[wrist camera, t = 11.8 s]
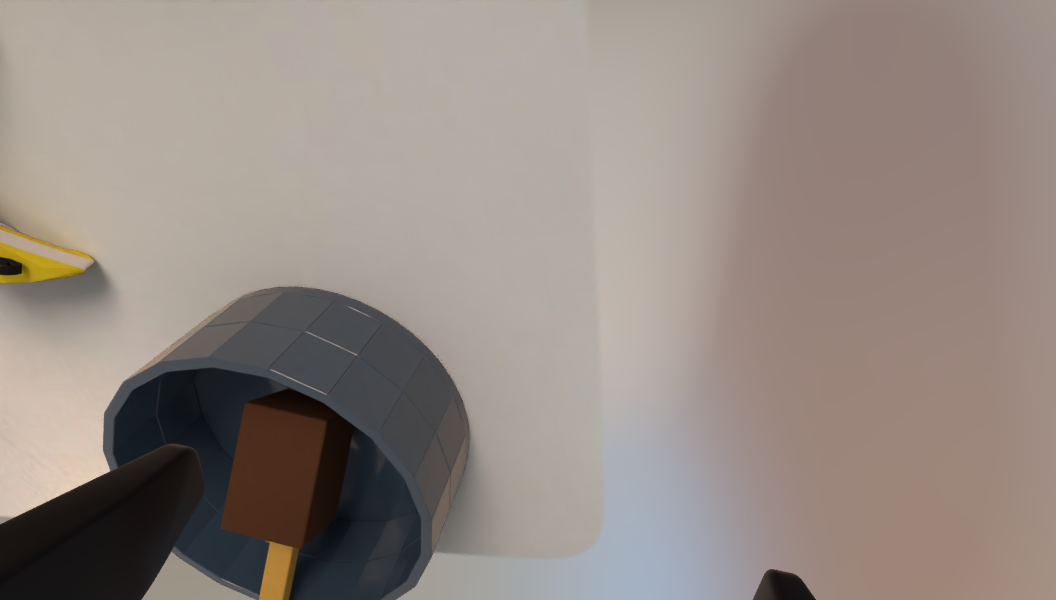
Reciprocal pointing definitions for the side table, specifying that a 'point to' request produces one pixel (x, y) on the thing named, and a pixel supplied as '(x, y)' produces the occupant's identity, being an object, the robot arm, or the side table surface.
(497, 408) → the side table surface
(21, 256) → the game controller
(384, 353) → the bowl
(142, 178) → the side table surface
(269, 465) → the chocolate ice cream bar
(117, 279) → the side table surface
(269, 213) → the side table surface
